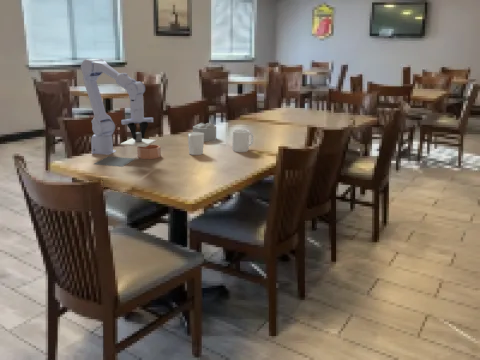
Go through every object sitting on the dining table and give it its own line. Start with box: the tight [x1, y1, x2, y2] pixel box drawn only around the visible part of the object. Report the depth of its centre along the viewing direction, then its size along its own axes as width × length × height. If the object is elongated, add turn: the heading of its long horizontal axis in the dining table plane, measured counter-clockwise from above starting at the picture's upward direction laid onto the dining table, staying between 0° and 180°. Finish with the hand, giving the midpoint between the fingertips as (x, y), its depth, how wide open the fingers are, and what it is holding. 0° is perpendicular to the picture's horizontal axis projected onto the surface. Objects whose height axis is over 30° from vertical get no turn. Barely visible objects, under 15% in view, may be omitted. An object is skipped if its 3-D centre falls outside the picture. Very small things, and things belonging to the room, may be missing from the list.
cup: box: [231, 128, 254, 153], centre depth 230 cm, size 8×12×10 cm
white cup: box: [187, 131, 205, 156], centre depth 221 cm, size 8×8×10 cm
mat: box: [93, 155, 136, 168], centre depth 204 cm, size 14×14×1 cm
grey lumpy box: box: [192, 122, 217, 143], centre depth 253 cm, size 10×13×9 cm
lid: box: [120, 131, 157, 147], centre depth 208 cm, size 12×12×5 cm
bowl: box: [136, 143, 162, 160], centre depth 213 cm, size 10×10×5 cm
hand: (138, 138), depth 208 cm, fingers closed on lid, 3 cm apart
